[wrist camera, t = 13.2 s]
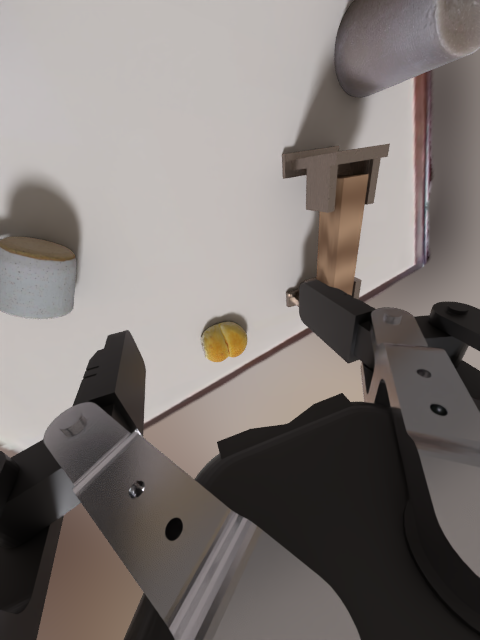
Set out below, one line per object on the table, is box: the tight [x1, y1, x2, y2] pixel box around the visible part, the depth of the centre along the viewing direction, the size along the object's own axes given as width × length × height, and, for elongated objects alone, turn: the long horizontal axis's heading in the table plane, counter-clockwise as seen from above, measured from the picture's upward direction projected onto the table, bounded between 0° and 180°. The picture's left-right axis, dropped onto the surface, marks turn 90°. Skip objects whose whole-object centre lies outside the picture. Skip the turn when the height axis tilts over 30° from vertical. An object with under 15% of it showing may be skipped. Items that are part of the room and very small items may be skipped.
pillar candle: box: [335, 0, 480, 97], centre depth 25 cm, size 10×10×15 cm
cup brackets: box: [282, 144, 390, 307], centre depth 37 cm, size 25×9×11 cm, turn 8°
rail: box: [317, 174, 369, 296], centre depth 34 cm, size 18×4×4 cm, turn 8°
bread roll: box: [201, 322, 247, 362], centre depth 45 cm, size 8×9×4 cm
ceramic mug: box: [0, 237, 77, 319], centre depth 28 cm, size 11×8×8 cm
